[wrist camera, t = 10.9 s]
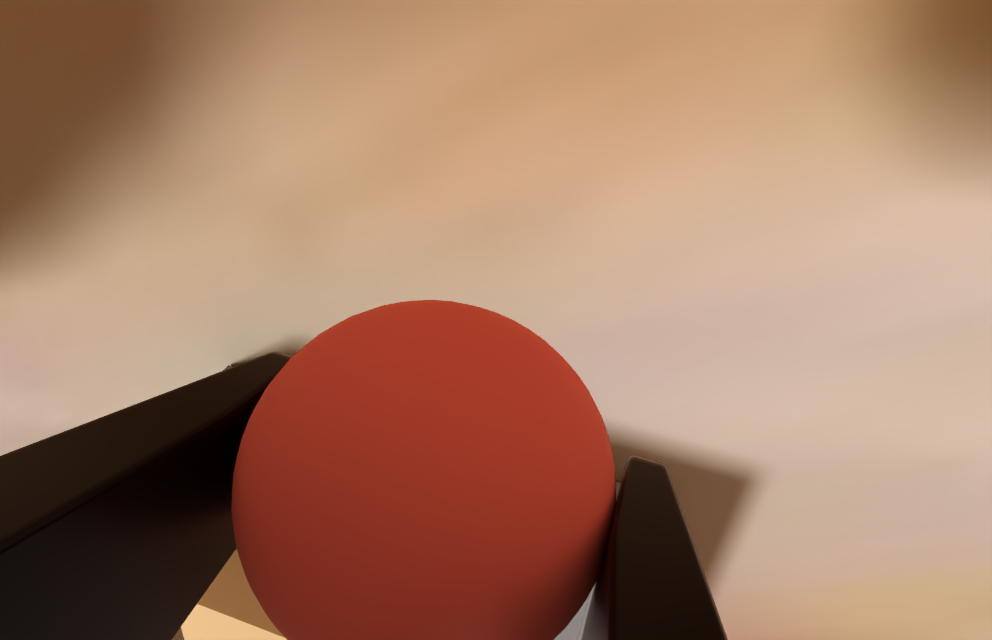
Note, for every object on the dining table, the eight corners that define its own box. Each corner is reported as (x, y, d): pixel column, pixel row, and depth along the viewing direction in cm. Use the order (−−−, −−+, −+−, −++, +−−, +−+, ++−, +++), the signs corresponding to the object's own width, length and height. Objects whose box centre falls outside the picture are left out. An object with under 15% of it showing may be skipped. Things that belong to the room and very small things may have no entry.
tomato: (355, 444, 11) (176, 687, 7) (347, 207, 8) (89, 407, 5) (609, 525, 10) (532, 840, 7) (677, 284, 8) (610, 582, 4)
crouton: (272, 567, 23) (195, 676, 20) (260, 485, 21) (171, 593, 18) (380, 606, 23) (316, 726, 19) (379, 526, 20) (308, 646, 17)
